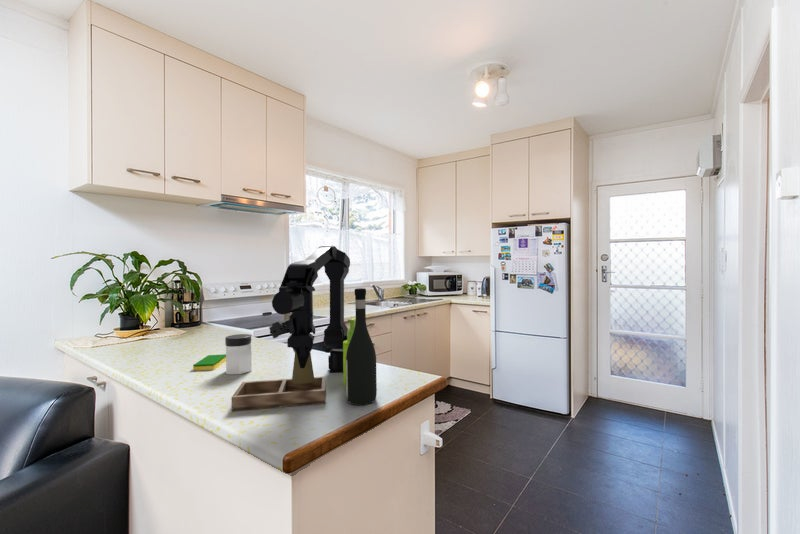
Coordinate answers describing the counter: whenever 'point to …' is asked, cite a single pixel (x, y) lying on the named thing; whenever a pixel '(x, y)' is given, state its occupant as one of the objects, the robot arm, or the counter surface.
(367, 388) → the wine bottle
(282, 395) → the holder
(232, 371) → the jar
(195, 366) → the dish sponge
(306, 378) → the cork
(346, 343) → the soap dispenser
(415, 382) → the counter surface
